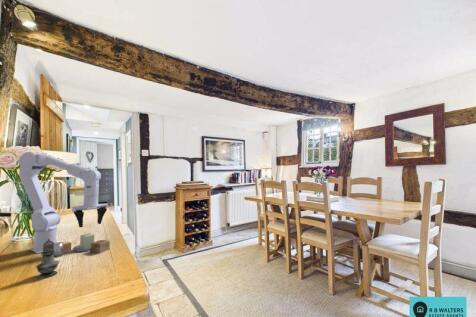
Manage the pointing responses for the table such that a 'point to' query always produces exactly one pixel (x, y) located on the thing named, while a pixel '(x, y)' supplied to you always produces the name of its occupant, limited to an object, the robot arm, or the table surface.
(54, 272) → the dark grey tall piece
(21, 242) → the table surface
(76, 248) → the coaster
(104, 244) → the walnut block
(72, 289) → the table surface
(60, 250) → the grey tin
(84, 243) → the sage block
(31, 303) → the table surface
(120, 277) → the table surface
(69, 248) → the terracotta block
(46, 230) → the robot arm
